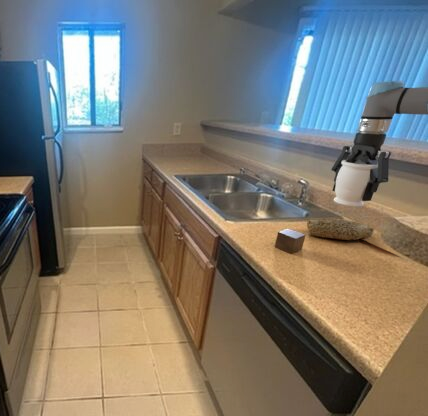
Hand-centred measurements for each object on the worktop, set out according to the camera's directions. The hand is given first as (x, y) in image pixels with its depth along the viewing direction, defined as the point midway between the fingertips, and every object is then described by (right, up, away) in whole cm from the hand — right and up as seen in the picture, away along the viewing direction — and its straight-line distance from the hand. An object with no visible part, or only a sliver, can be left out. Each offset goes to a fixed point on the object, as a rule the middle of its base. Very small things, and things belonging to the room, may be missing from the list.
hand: (350, 195), depth 99 cm
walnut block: (-24, -19, -2) cm, 31 cm away
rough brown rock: (0, -16, +6) cm, 17 cm away
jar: (0, -3, +1) cm, 3 cm away
